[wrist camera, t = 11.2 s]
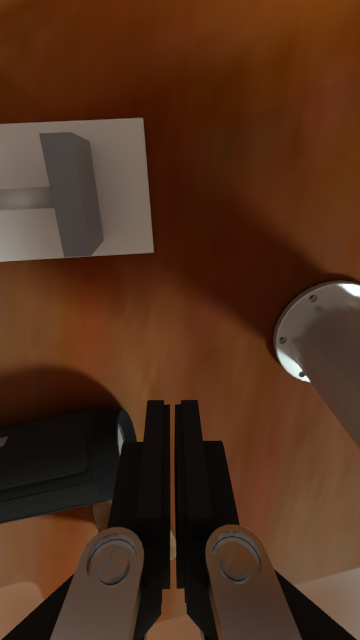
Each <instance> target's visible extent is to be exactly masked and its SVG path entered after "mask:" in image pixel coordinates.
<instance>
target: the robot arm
mask: <svg viewBox="0 0 360 640" xmlns="http://www.w3.org/2000/svg"><path fill="white" fill-rule="evenodd" d="M310 296H311V297H310ZM273 345H274V351H275V354H276V357H277V358H278V360H279V362H280V364H281V365H282V366H283V368H284V369H285V370H286V371H287V372H288V373H289V374H291V375H292V376H294V377H295V378H297V379H299V380H303V381H306V382H311V383H312V385H313V386H314V387H315V389H316V390H317V392H318V393H319V394H320V396H321V397H322V398H323V400H324V401H325V403H326V404H327V405H328V407H329V408H330V409H331V411H332V412H333V414H334V415H335V416H336V418H337V419H338V420H339V422H340V423H341V425H342V426H343V427H344V429H345V430H346V432H347V433H348V434H349V436H350V437H351V438H352V440H353V441H354V443H355V444H356V445H357V447H358V448H359V449H360V284H358V283H355V282H352V281H345V280H338V281H329V282H325V283H321V284H318V285H316V286H313V287H311V288H309V289H307V290H306V291H304V292H302V293H301V294H299V295H298V296H297V297H296V298H295V299H294V300H292V301H291V302H290V303H289V305H288V306H287V307H286V308H285V309H284V311H283V312H282V314H281V316H280V317H279V319H278V321H277V324H276V327H275V330H274V336H273ZM174 466H175V524H176V578H177V589H180V588H184V590H185V603H186V604H187V614H188V615H189V616H190V618H191V619H192V620H193V621H194V622H195V624H196V625H197V626H198V627H199V628H200V635H201V640H356V639H355V638H354V637H353V636H352V635H351V634H349V633H348V632H347V631H346V630H345V629H344V628H342V627H341V626H340V625H339V624H338V623H336V622H335V621H334V620H333V619H332V618H331V617H330V616H328V615H327V614H326V613H325V612H324V611H322V610H321V609H320V608H319V607H318V606H316V605H315V604H314V603H313V602H312V601H311V600H309V599H308V598H307V597H306V596H305V595H304V594H303V593H301V592H300V591H299V590H298V589H297V588H296V587H294V586H293V585H292V584H291V583H290V582H288V581H287V580H286V579H285V578H284V577H283V576H281V575H280V574H279V573H278V572H277V571H276V570H274V568H273V566H272V563H271V561H270V558H269V556H268V553H267V551H266V549H265V547H264V545H263V543H262V542H261V540H260V539H259V538H258V537H257V536H256V535H255V534H254V533H253V532H252V531H250V530H249V529H247V528H245V527H242V526H240V524H239V520H238V515H237V510H236V505H235V500H234V495H233V490H232V485H231V480H230V475H229V470H228V465H227V461H226V456H225V451H224V446H223V443H222V441H203V438H202V431H201V423H200V415H199V407H198V401H197V400H181V405H175V463H174ZM162 589H170V405H164V400H148V401H147V410H146V421H145V431H144V441H143V442H123V444H122V448H121V454H120V459H119V465H118V471H117V476H116V482H115V487H114V493H113V499H112V504H111V510H110V516H109V521H108V527H107V529H106V530H103V531H101V532H100V533H98V534H97V535H95V536H94V537H93V538H92V539H91V540H90V541H89V543H88V544H87V545H86V547H85V549H84V551H83V553H82V555H81V557H80V560H79V563H78V566H77V568H76V571H75V573H74V574H73V575H72V576H71V577H70V578H69V579H68V580H67V581H65V582H64V583H63V584H62V585H61V586H60V587H59V588H58V589H57V590H56V591H54V592H53V593H52V594H51V595H50V596H49V597H48V598H47V599H46V600H45V601H43V602H42V603H41V604H40V605H39V606H38V607H37V608H36V609H35V610H34V611H32V612H31V613H30V614H29V615H28V616H27V617H26V618H25V619H24V620H23V621H22V622H21V623H20V624H18V625H17V626H16V627H15V628H14V629H13V630H12V631H11V632H10V633H8V635H6V636H5V637H4V638H3V639H2V640H147V634H148V633H147V632H148V630H149V629H150V628H151V627H152V625H153V624H154V623H155V621H156V620H157V619H158V618H159V616H160V615H161V603H162Z"/></svg>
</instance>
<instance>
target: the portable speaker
mask: <svg viewBox="0 0 360 640" xmlns="http://www.w3.org/2000/svg"><path fill="white" fill-rule="evenodd" d="M123 442H137V440H136V435H135V430H134V427H133V423H132V421H131V419H130V416H129V415H128V413H127V412H126V411H125V410H123V409H118V408H111V407H104V406H100V407H98V408H94V409H89V410H85V411H80V412H76V413H71V414H67V415H62V416H58V417H53V418H49V419H44V420H40V421H35V422H31V423H27V424H22V425H18V426H13V427H9V428H4V429H0V524H2V523H7V522H11V521H16V520H21V519H26V518H30V517H35V516H40V515H45V514H49V513H54V512H59V511H64V510H68V509H73V508H78V507H83V506H88V505H92V504H97V503H102V502H107V501H109V500H112V499H113V493H114V487H115V482H116V476H117V471H118V465H119V459H120V454H121V448H122V444H123Z"/></svg>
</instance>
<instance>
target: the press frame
mask: <svg viewBox="0 0 360 640" xmlns="http://www.w3.org/2000/svg"><path fill="white" fill-rule="evenodd" d="M60 132H72V133H74V134H76V135H78V136H80V137H82V138H84V139H86V140H89V141H90V148H91V155H92V162H93V168H94V175H95V182H96V189H97V196H98V203H99V210H100V217H101V224H102V230H103V237H104V241H103V242H102V243H101V245H100V246H99V247H98V248H97V249H96V251H95V252H94V253H93V254H92V255H91V256H105V255H123V254H140V253H154V246H153V233H152V221H151V208H150V196H149V183H148V171H147V158H146V146H145V133H144V121H143V118H127V119H104V120H81V121H58V122H35V123H12V124H0V189H11V188H31V187H50V185H49V180H48V175H47V171H46V166H45V161H44V156H43V151H42V146H41V141H40V136H39V133H60ZM80 257H88V256H80ZM54 258H71V257H64V254H63V250H62V245H61V240H60V235H59V230H58V225H57V220H56V215H55V210H54V208H41V209H22V210H3V211H0V262H2V261H19V260H37V259H54Z"/></svg>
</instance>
